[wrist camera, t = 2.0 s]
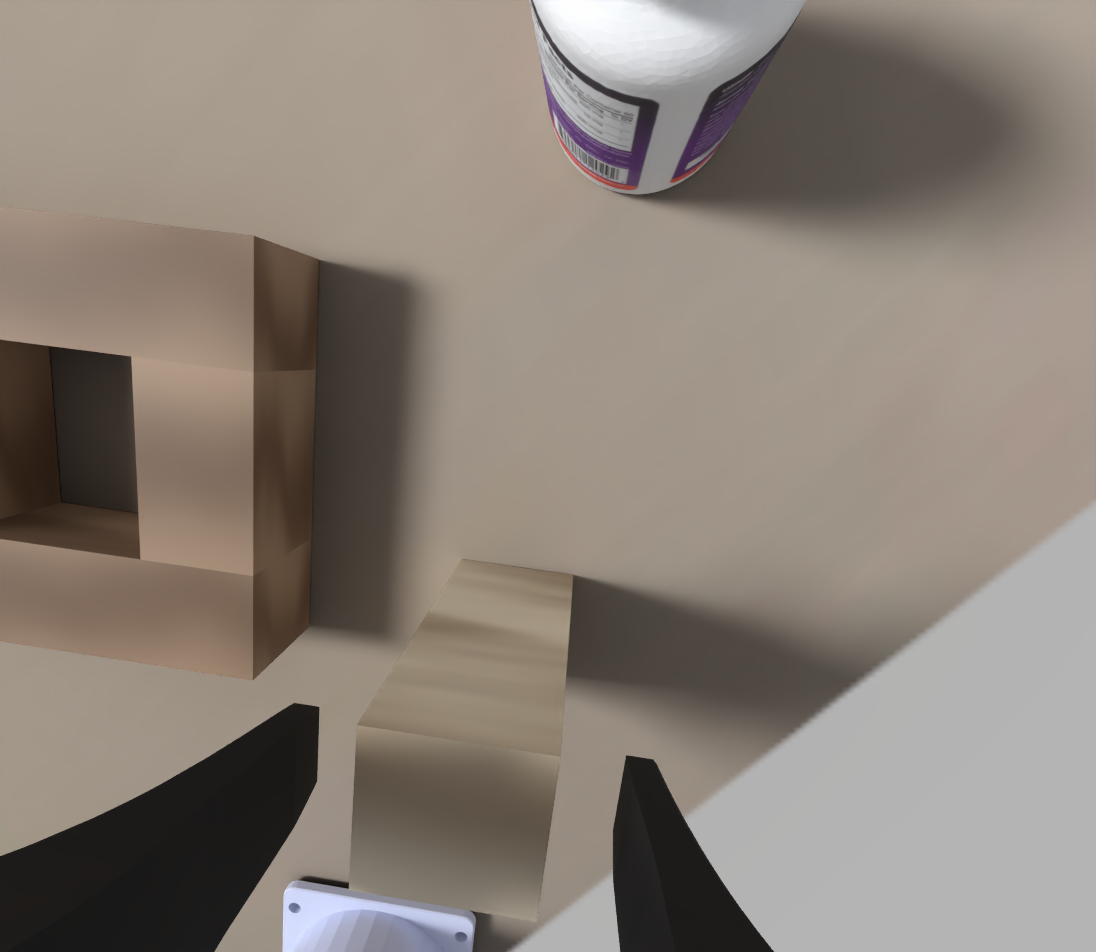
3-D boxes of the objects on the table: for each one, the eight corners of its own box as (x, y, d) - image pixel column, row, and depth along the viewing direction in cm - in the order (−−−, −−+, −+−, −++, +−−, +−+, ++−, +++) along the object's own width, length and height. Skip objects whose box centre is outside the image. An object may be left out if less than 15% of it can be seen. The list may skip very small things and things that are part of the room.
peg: (559, 675, 20) (536, 922, 11) (452, 659, 20) (348, 889, 11) (573, 574, 19) (560, 757, 10) (462, 559, 19) (356, 725, 11)
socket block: (309, 626, 20) (252, 680, 17) (-19, 577, 21) (-137, 619, 18) (319, 259, 18) (253, 235, 14) (-60, 215, 18) (-212, 181, 15)
